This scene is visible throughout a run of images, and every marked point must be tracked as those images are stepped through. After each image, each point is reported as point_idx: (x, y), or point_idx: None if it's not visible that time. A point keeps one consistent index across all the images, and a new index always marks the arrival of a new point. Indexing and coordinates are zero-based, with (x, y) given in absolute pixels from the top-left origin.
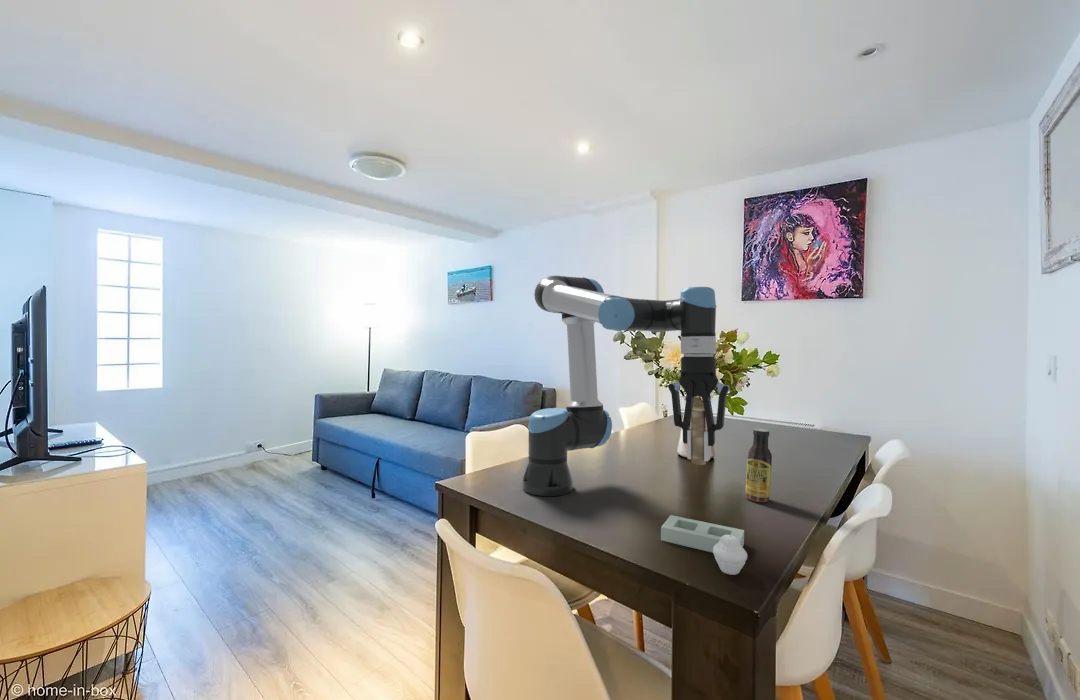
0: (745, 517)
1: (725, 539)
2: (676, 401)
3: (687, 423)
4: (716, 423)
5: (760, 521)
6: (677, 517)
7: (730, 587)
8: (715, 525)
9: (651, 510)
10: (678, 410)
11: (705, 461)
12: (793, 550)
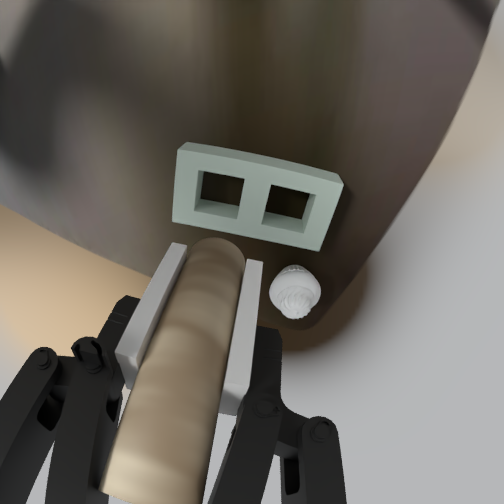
0: (364, 25)
1: (287, 316)
2: (22, 495)
3: (114, 420)
4: (281, 468)
5: (394, 44)
6: (194, 158)
7: None
8: (283, 175)
9: (133, 62)
10: (43, 457)
11: (243, 274)
12: (417, 179)
